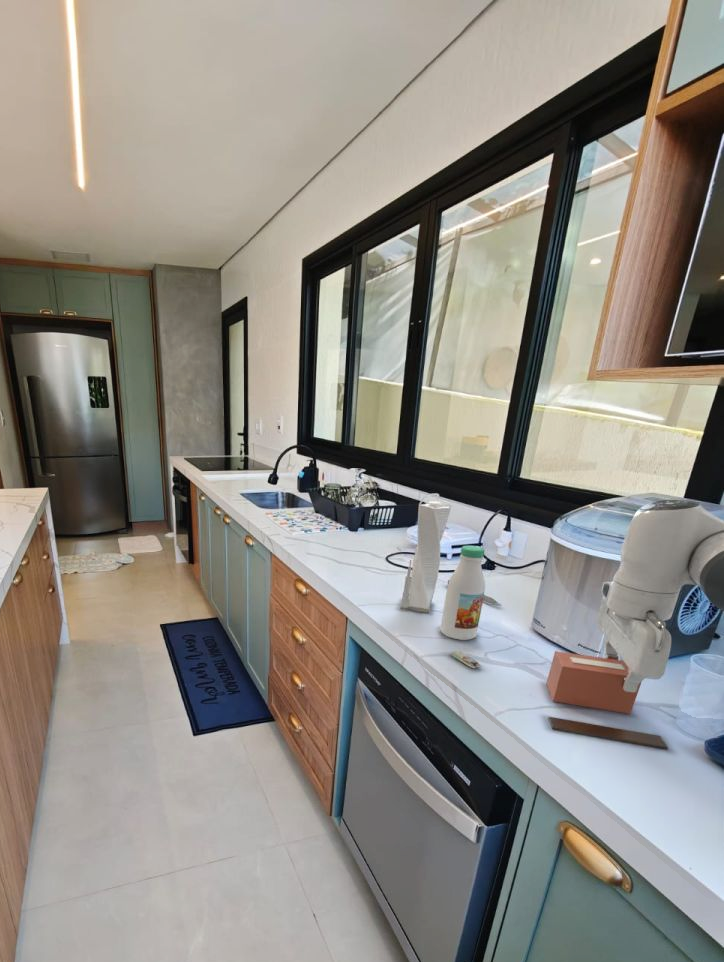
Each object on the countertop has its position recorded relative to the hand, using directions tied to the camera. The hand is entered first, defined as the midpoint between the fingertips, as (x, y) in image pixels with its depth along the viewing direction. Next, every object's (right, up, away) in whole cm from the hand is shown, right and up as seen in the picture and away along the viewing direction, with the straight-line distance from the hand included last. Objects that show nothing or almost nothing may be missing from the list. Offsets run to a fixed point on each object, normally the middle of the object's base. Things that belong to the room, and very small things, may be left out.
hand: (618, 676), depth 86 cm
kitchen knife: (-5, +14, +49) cm, 51 cm away
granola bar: (-21, +1, +15) cm, 26 cm away
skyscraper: (-22, +11, +42) cm, 49 cm away
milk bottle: (-18, +5, +27) cm, 33 cm away
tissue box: (-4, -4, +3) cm, 7 cm away
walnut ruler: (-6, -8, -6) cm, 12 cm away
